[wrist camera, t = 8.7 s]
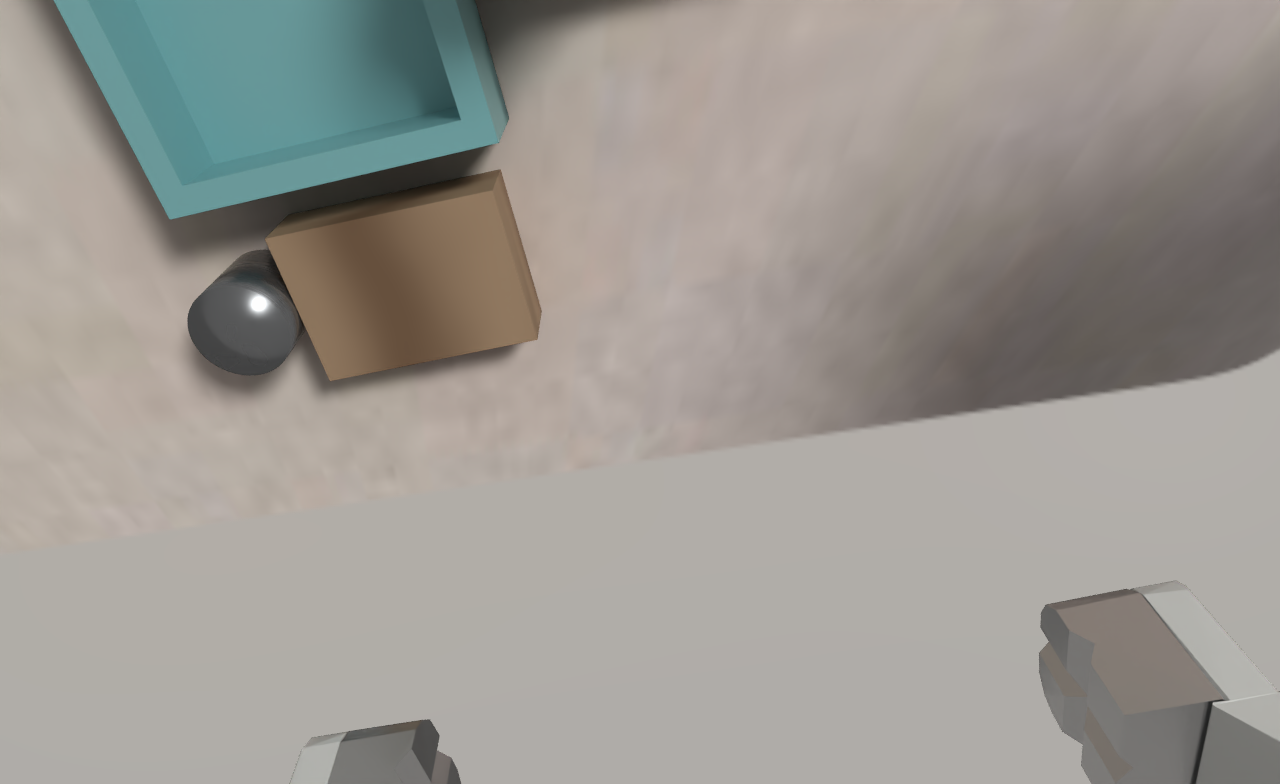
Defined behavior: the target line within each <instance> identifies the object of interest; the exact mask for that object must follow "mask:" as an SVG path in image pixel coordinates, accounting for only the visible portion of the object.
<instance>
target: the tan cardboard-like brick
mask: <svg viewBox="0 0 1280 784" xmlns="http://www.w3.org/2000/svg"><path fill="white" fill-rule="evenodd" d="M265 241H266V243H267V245H268V247H269V249H270V252H271V254H272V256H273V258H274V260H275V262H276V265H277V267H278V269H279V271H280V273H281V275H282V278H283V280H284V282H285V284H286V286H287V289H288V291H289V293H290V295H291V297H292V299H293V302H294V304H295V306H296V308H297V310H298V313H299V315H300V317H301V319H302V321H303V323H304V326H305V328H306V330H307V332H308V334H309V336H310V339H311V341H312V343H313V345H314V347H315V350H316V352H317V354H318V356H319V358H320V360H321V363H322V365H323V367H324V369H325V371H326V373H327V376H328V378H329V380H330V381H333V380H338V379H343V378H348V377H353V376H358V375H363V374H368V373H373V372H378V371H383V370H388V369H393V368H398V367H403V366H408V365H413V364H418V363H423V362H428V361H433V360H438V359H443V358H448V357H453V356H458V355H463V354H468V353H473V352H478V351H483V350H488V349H493V348H498V347H503V346H508V345H513V344H518V343H523V342H528V341H533V340H537V339H538V332H539V325H540V318H541V312H542V311H541V307H540V304H539V300H538V297H537V293H536V290H535V287H534V283H533V280H532V276H531V273H530V269H529V266H528V262H527V259H526V256H525V252H524V249H523V245H522V242H521V238H520V235H519V231H518V228H517V225H516V221H515V218H514V214H513V211H512V207H511V204H510V201H509V197H508V194H507V190H506V187H505V183H504V180H503V176H502V173H501V170H495V171H491V172H486V173H481V174H477V175H472V176H467V177H463V178H458V179H454V180H449V181H444V182H440V183H435V184H430V185H426V186H421V187H417V188H412V189H407V190H403V191H398V192H393V193H389V194H384V195H379V196H375V197H370V198H366V199H361V200H356V201H352V202H347V203H342V204H338V205H333V206H328V207H324V208H319V209H315V210H310V211H305V212H301V213H296V214H291V215H288V216H287V217H286V218H285V219H284V220H283V221H282V222H281V223H280V224H279V225H278V226H277V227H276V228H275V229H274V230H273V231H272V232H271V233H270V234H269V235H268V236H267V237H266V238H265Z"/></svg>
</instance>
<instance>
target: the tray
mask: <svg viewBox="0 0 1280 784" xmlns="http://www.w3.org/2000/svg"><path fill="white" fill-rule="evenodd" d="M54 2H55V4H56V6H57V8H58V10H59V11H60V13H61V15H62V17H63V19H64V21H65V23H66V25H67V27H68V28H69V30H70V32H71V34H72V36H73V38H74V40H75V42H76V44H77V45H78V47H79V49H80V51H81V53H82V55H83V57H84V59H85V61H86V62H87V64H88V66H89V68H90V70H91V72H92V74H93V76H94V78H95V79H96V81H97V83H98V85H99V87H100V89H101V91H102V93H103V95H104V97H105V98H106V100H107V102H108V104H109V106H110V108H111V110H112V112H113V114H114V115H115V117H116V119H117V121H118V123H119V125H120V127H121V129H122V131H123V132H124V134H125V136H126V138H127V140H128V142H129V144H130V146H131V148H132V149H133V151H134V153H135V155H136V157H137V159H138V161H139V163H140V165H141V166H142V168H143V170H144V172H145V174H146V176H147V178H148V180H149V182H150V183H151V185H152V187H153V189H154V191H155V193H156V195H157V197H158V199H159V200H160V202H161V204H162V206H163V208H164V210H165V212H166V214H167V216H168V217H169V219H175V218H179V217H183V216H188V215H192V214H196V213H200V212H205V211H209V210H213V209H218V208H222V207H226V206H230V205H235V204H239V203H243V202H248V201H252V200H256V199H260V198H265V197H269V196H273V195H278V194H282V193H286V192H290V191H295V190H299V189H303V188H308V187H312V186H316V185H320V184H325V183H329V182H333V181H338V180H342V179H346V178H350V177H355V176H359V175H363V174H368V173H372V172H376V171H380V170H385V169H389V168H393V167H398V166H402V165H406V164H410V163H415V162H419V161H423V160H428V159H432V158H436V157H440V156H445V155H449V154H453V153H458V152H462V151H466V150H470V149H475V148H479V147H483V146H488V145H492V144H496V143H499V141H500V139H501V136H502V134H503V132H504V129H505V127H506V125H507V122H508V120H509V116H508V112H507V109H506V105H505V102H504V99H503V95H502V92H501V88H500V85H499V81H498V78H497V74H496V71H495V68H494V64H493V61H492V57H491V54H490V50H489V47H488V43H487V40H486V37H485V33H484V30H483V26H482V23H481V19H480V16H479V12H478V9H477V6H476V2H475V0H54Z"/></svg>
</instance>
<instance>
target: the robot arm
mask: <svg viewBox="0 0 1280 784" xmlns="http://www.w3.org/2000/svg"><path fill="white" fill-rule="evenodd" d="M1041 629H1042V631H1043V632H1044V634H1045V636H1046V637H1047V639H1048V641H1049V642H1048V644H1047V645H1046V646H1045V647H1044V648H1043V649H1042V650H1041V651H1040V653H1039V673H1040V677H1041V681H1042V686H1043V690H1044V694H1045V697H1046V699H1047V702H1048V704H1049V706H1050V708H1051V711H1052V713H1053V715H1054V717H1055V719H1056V721H1057V722H1058V724H1059V726H1060V728H1061V730H1062V732H1064V733H1066V734H1067V735H1069V736H1070V737H1072V738H1073V739H1075V740H1077V741H1078V742H1080V743H1081V744H1083V749H1082V761H1081V766H1082V768H1083V769H1084V771H1085V773H1086V775H1087V776H1088V778H1089V780H1090V782H1091V783H1092V784H1280V691H1277V690H1276V688H1275V687H1274V686H1273V685H1272V684H1271V683H1270V682H1269V680H1268V679H1267V678H1266V677H1265V676H1264V675H1263V673H1262V672H1261V671H1260V670H1259V669H1258V668H1257V667H1256V665H1255V664H1254V663H1253V662H1252V661H1251V660H1250V659H1249V657H1248V656H1247V655H1246V654H1245V653H1244V652H1243V651H1242V649H1241V648H1240V647H1239V646H1238V645H1237V644H1236V643H1235V641H1234V640H1233V639H1232V638H1231V637H1230V636H1229V635H1228V633H1227V632H1226V631H1225V630H1224V629H1223V628H1222V627H1221V625H1220V624H1219V623H1218V622H1217V621H1216V620H1215V618H1214V617H1213V616H1212V615H1211V614H1210V613H1209V612H1208V611H1207V609H1206V608H1205V607H1204V606H1203V605H1202V604H1201V602H1199V600H1198V599H1197V598H1196V597H1195V596H1194V595H1193V593H1192V592H1191V591H1190V590H1189V589H1188V588H1187V586H1185V585H1183V584H1181V583H1180V582H1178V581H1171V582H1166V583H1160V584H1155V585H1149V586H1144V587H1139V588H1133V589H1130V590H1128V589H1124V590H1119V591H1113V592H1108V593H1103V594H1098V595H1093V596H1088V597H1083V598H1078V599H1072V600H1067V601H1062V602H1057V603H1052V604H1047V605H1045V607H1044V609H1043V610H1042V612H1041ZM438 742H439V734H438V732H437V731H436V729H435V727H434V726H433V724H432V722H431V721H430V720H419V721H412V722H406V723H399V724H393V725H386V726H380V727H373V728H367V729H361V730H354V731H349V732H343V733H337V734H331V735H325V736H319V737H314V738H311V739H310V740H309V741H308V743H307V744H306V745H305V746H304V747H303V749H302V751H301V753H300V755H299V758H298V761H297V764H296V767H295V770H294V772H293V775H292V778H291V781H290V783H289V784H461V781H460V778H459V774H458V770H457V768H456V766H455V764H454V762H453V760H452V758H451V757H449V756H447V755H445V754H443V753H441V752H439V751H437V747H438Z"/></svg>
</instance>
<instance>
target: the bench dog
mask: <svg viewBox="0 0 1280 784" xmlns="http://www.w3.org/2000/svg"><path fill="white" fill-rule="evenodd" d="M188 330H189V333H190V336H191V339H192V341H193V343H194V344H195V346H196V347H197V349H198V350H199V351H200V353H201V354H202V355H203V356H204V357H205V358H207V359H208V360H209V361H210V362H212V363H213V364H215V365H216V366H218V367H220V368H222V369H224V370H226V371H229V372H232V373H235V374H241V375H260V374H264V373H267V372H270V371H272V370H274V369H275V368H277V367H278V366H279V365H281V364H282V363H283V361H284V360H285V359H286V357H287V356H288V354H289V353H290V352H291V350H292V349H293V347H294V346H295V344H296V343H297V341H298V340H299V339H300V337H301V336H302V334H303V333H304V331H305V330H306V328H305V326H304V323H303V321H302V319H301V317H300V315H299V313H298V310H297V308H296V306H295V304H294V302H293V299H292V297H291V295H290V293H289V291H288V289H287V286H286V284H285V282H284V280H283V278H282V275H281V273H280V271H279V269H278V267H277V265H276V262H275V260H274V258H273V256H272V254H271V252H270V250H256V251H251V252H248V253H246V254H244V255H242V256H240V257H239V258H238V259H236V260H235V261H234V262H233V263H232V264H231V265H230V266H229V267H228V268H227V269H226V270H225V271H224V272H223V273H222V274H221V275H220V276H219V277H218V278H217V279H216V280H215V281H214V282H213V283H212V284H211V285H210V286H209V287H208V288H207V289H206V290H205V291H204V292H203V293H202V294H201V295H200V296H199V297H198V298H197V299H196V300H195V301H194V302H193V304H192V306H191V308H190V310H189V313H188Z"/></svg>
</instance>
